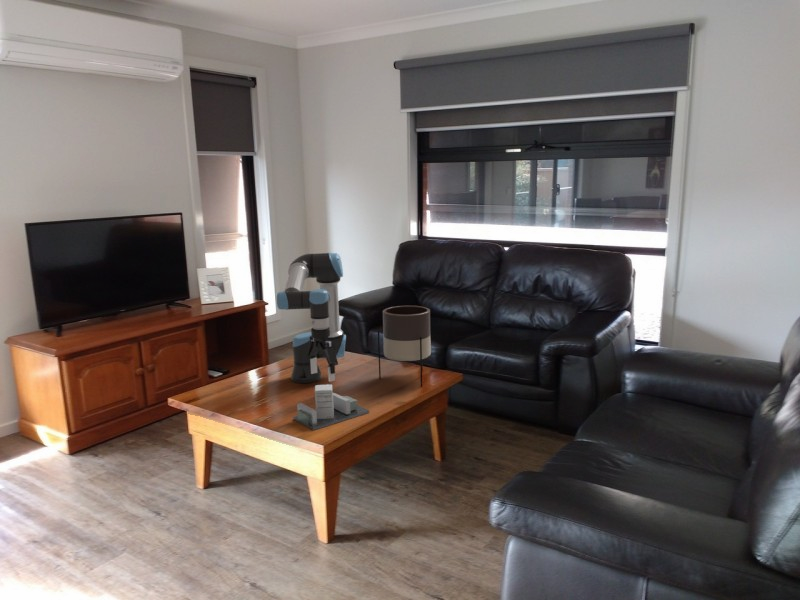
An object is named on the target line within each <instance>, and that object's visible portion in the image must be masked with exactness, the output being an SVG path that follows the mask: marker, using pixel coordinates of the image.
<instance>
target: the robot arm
mask: <svg viewBox="0 0 800 600" xmlns="http://www.w3.org/2000/svg"><path fill="white" fill-rule="evenodd" d="M341 259H342V258H341V255H340V254H338V253H335V252H334V253H333V252H323V253H322V252H320V253H318V252H317V253H305V254H302V255H300V256H298V257H297V258H296V259H294V260H293V261H292V262H291V263H290V264H289V267H288V270H287V272H288V277H287V281H286V284H285V288H284V291H280V292H277V294H276V306H277V309H278V310H286V311H288V310H308V309H309V310H310V311H309V312H310V327H311V329H310V331H309V332H303V333H299V334H296V335H295V336H294V337H293V339H292V351H293V354H292V355H293V366H292V367H293V368H292V371H291V375H290V378H291V382H294V383H295V384H296V383H297V384H311V383H315V382H318V381H320V380H321V379H322V372H321V369H320V366H319V365H318V359H325V360H326V362H327V364H328V365H327V377H328V382H334V381H336V366H337V365H339V362H338V359H341V358H344V357H345V353H346V351H345V350H346V341H347V335H346V334H344V331H343V330H342V329H341V326H340V323H341V322H340V312H339V311H340V308H339V306H340V305H339V288H338V283H339V282H341V278H342V277H344V270H343V265H342V260H341ZM310 278H312V279H314V278H315V279H316V280H315V281H316V283H317V284H318V285H319V288H318V289H312V290H304V285H305V281H306V279H310Z"/></svg>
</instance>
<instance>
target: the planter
mask: <svg viewBox="0 0 800 600" xmlns="http://www.w3.org/2000/svg"><path fill="white" fill-rule="evenodd" d="M382 328H383V333H382V334H383V354H381V346H380V341H381V340H380V331H379V330H378V331H377V345H378V346H377V348H378V378H379V380H381V379H382V377H381V373H382V372H381V357H382V358H383V357H385V358H387V359H389V360H393V361H398V362H413V361H415V362H417V363H420V387H421V388H422V387H423V371H424V369H423V364H424V363H423V360H424V359H427V358H428V357H430V356H431V353H432V349H431V348H432V344H431V309H430V308H428V307H425V306H421V305H420V306H419V305H397V306H391V307H386V308H385V309H383V310H382Z"/></svg>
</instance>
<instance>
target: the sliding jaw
mask: <svg viewBox="0 0 800 600" xmlns="http://www.w3.org/2000/svg"><path fill="white" fill-rule="evenodd" d="M357 405H358V400H357V399H355V398H352V397H351V396H348V395H344V396H342V395H340V394H338V393H336V392H333V407H334V409H336V410H338V411H340V412H342V413H344V414H350V411H353V410H356V409H357Z"/></svg>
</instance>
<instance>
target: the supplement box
mask: <svg viewBox="0 0 800 600" xmlns="http://www.w3.org/2000/svg"><path fill="white" fill-rule="evenodd" d="M333 393H334V392H333V384H328V383H327V384H317V385H315V386H314V398H315V399H314V400H315V401H314V402H315V410H316V412H317V419H330V418H334V407H333Z"/></svg>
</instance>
